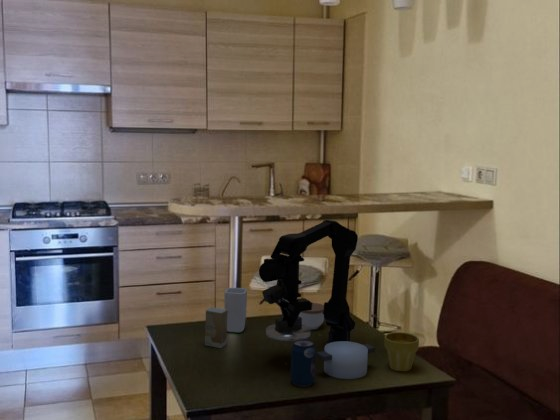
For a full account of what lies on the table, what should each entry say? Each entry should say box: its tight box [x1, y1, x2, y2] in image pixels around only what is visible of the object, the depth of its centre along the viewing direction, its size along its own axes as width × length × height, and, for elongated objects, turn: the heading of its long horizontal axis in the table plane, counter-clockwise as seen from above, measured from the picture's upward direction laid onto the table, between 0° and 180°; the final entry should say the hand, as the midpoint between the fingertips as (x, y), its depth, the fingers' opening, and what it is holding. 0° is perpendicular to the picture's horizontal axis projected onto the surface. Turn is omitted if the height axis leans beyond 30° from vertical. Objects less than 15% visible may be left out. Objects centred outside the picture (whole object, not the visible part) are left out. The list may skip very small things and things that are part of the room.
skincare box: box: [204, 307, 228, 349], centre depth 216 cm, size 6×4×12 cm
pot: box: [315, 341, 376, 380], centre depth 196 cm, size 19×13×7 cm
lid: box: [265, 316, 312, 342], centre depth 201 cm, size 14×14×5 cm
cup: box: [223, 287, 248, 334], centre depth 231 cm, size 7×7×15 cm
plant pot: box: [383, 331, 420, 372], centre depth 200 cm, size 10×10×10 cm
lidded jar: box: [299, 301, 325, 331], centre depth 238 cm, size 11×11×9 cm
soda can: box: [290, 339, 316, 387], centre depth 186 cm, size 7×7×12 cm
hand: (288, 325), depth 201 cm, fingers closed on lid, 2 cm apart
